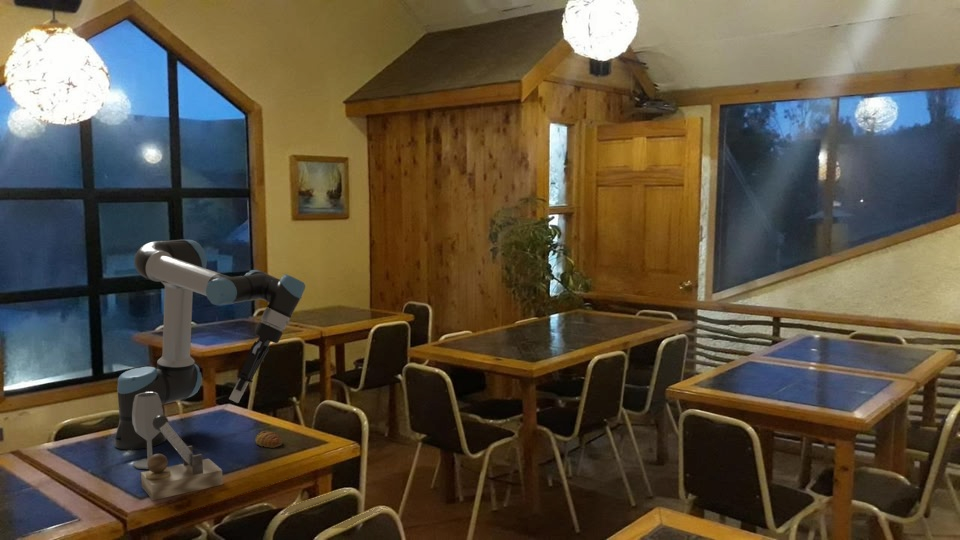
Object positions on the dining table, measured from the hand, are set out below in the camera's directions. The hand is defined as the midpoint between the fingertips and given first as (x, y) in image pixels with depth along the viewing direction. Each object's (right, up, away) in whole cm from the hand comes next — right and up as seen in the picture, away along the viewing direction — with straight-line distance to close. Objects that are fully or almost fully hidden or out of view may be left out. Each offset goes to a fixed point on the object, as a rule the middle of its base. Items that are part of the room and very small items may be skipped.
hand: (233, 400), depth 219 cm
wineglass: (-26, -20, +5) cm, 33 cm away
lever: (-8, -15, -10) cm, 20 cm away
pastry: (+4, -18, +24) cm, 30 cm away
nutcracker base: (-10, -21, -12) cm, 26 cm away
